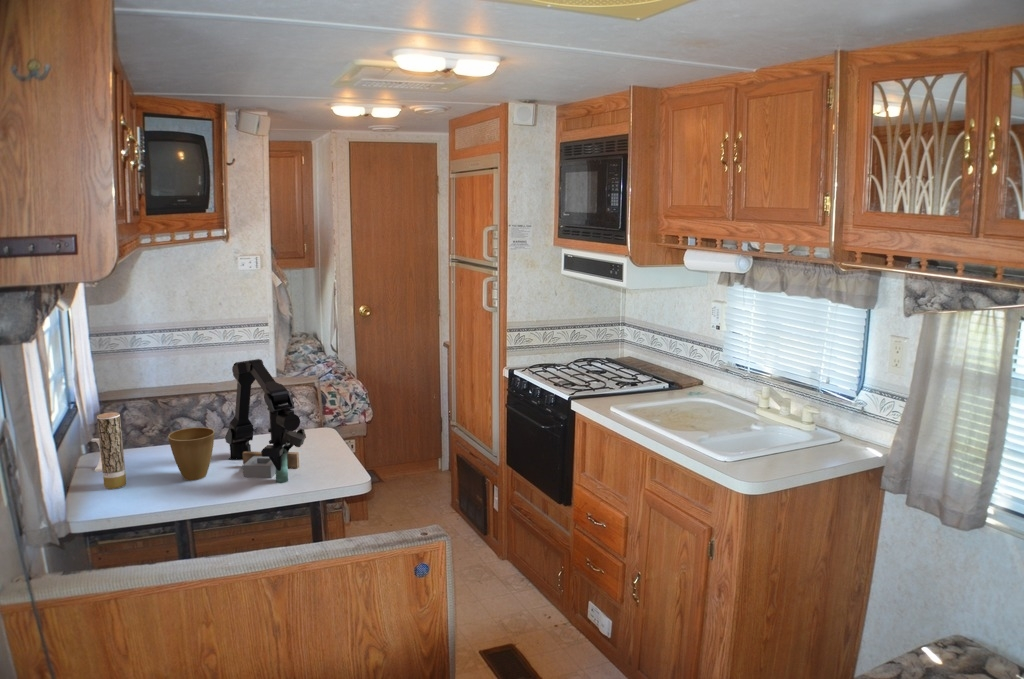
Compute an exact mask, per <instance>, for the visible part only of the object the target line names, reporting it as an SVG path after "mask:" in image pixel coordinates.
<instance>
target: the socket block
mask: <svg viewBox="0 0 1024 679" xmlns="http://www.w3.org/2000/svg"><path fill="white" fill-rule="evenodd" d="M241 466H242V477H243V478H244V479H245V478H246V479H247V478H248V479H249V478H250V479H253V478H254V479H272V478H273V477H274V476H276V469H275V466H274V464H273V462H272V461H271V459H270V458H269V457H262V456H253V457H252V458H251V459H249V460H248V461H247V462H246V463H245V464H243V463H242V465H241Z"/></svg>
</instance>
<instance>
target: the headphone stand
mask: <svg viewBox="0 0 1024 679" xmlns="http://www.w3.org/2000/svg"><path fill="white" fill-rule="evenodd" d="M90 441H91V442H93V443H95V442H96V443H97V445H98V448H99V460H98V463H97V466H96V467H95V469H94V472H95V473H96V472H97V473H99V472H100V473H101V472H103V471H102V461H101V451H100V441H99V438H91V440H90Z"/></svg>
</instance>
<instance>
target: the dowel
mask: <svg viewBox="0 0 1024 679" xmlns="http://www.w3.org/2000/svg"><path fill="white" fill-rule="evenodd" d="M283 452H286V453H285V454H284V455H283V456H282V465H281V470H280V471H278V470H277V469H276V467H275V469H276V474H275V482H276V483H278V484H285V483H288V482H289V469H288V466H287V450H286V449H283Z"/></svg>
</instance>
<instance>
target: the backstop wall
mask: <svg viewBox="0 0 1024 679" xmlns="http://www.w3.org/2000/svg"><path fill="white" fill-rule="evenodd" d="M242 454H243V460H242V465H243V464H245V463H246V462H247V461H248V460H249V459H251V458H252V457H253V456H262V454H261V451H251V452H247V451H245V452H243V453H242ZM287 466H288V470H289V469H293V470H297V469H299V468H300V454H299V452H298V451H297V452H296V451H295V452H293V451H289V452H288V456H287Z"/></svg>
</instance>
